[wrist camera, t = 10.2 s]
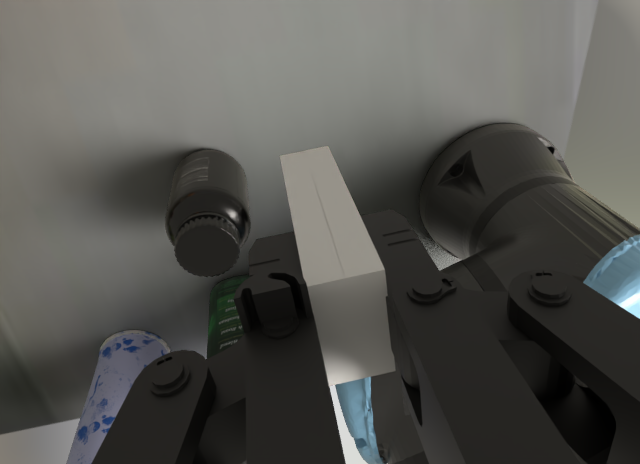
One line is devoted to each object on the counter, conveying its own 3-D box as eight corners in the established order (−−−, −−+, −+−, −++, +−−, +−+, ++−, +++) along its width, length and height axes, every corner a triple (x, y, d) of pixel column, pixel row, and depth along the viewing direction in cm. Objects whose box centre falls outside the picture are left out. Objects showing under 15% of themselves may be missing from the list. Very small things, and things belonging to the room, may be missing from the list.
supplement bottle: (172, 208, 46) (155, 284, 36) (176, 142, 42) (159, 206, 32) (242, 215, 47) (246, 290, 37) (252, 152, 44) (258, 216, 34)
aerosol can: (126, 386, 57) (83, 571, 41) (84, 346, 53) (17, 536, 36) (183, 362, 57) (163, 539, 40) (145, 320, 52) (106, 499, 36)
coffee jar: (201, 278, 51) (189, 429, 35) (274, 265, 51) (293, 408, 36) (221, 341, 56) (217, 497, 40) (286, 329, 57) (308, 477, 41)
